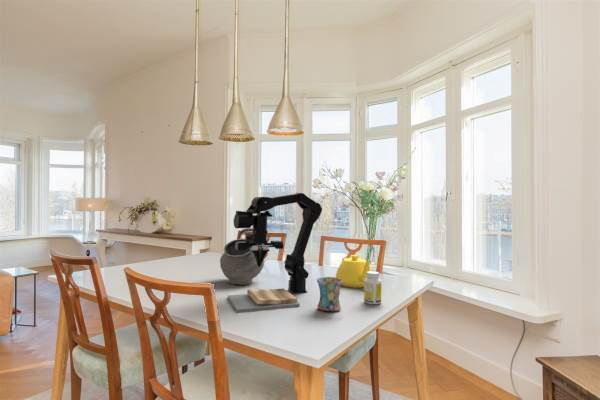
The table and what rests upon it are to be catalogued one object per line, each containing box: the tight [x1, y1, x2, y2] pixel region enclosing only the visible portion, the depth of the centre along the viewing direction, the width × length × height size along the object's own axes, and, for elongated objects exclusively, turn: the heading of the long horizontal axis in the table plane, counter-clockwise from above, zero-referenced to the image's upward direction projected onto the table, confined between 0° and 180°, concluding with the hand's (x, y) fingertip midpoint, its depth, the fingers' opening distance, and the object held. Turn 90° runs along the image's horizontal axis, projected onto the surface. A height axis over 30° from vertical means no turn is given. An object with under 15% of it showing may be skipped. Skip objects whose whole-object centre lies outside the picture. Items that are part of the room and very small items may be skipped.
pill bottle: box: [363, 270, 382, 305], centre depth 134 cm, size 6×6×12 cm
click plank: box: [246, 288, 282, 304], centre depth 132 cm, size 9×16×2 cm, turn 21°
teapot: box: [335, 254, 373, 289], centre depth 163 cm, size 25×18×14 cm
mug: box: [316, 276, 343, 312], centre depth 123 cm, size 12×9×11 cm
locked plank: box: [269, 288, 298, 304], centre depth 134 cm, size 6×16×2 cm, turn 21°
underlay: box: [227, 293, 300, 313], centre depth 132 cm, size 23×19×1 cm
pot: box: [219, 227, 265, 286], centre depth 164 cm, size 21×21×25 cm
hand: (259, 266), depth 139 cm, fingers closed
